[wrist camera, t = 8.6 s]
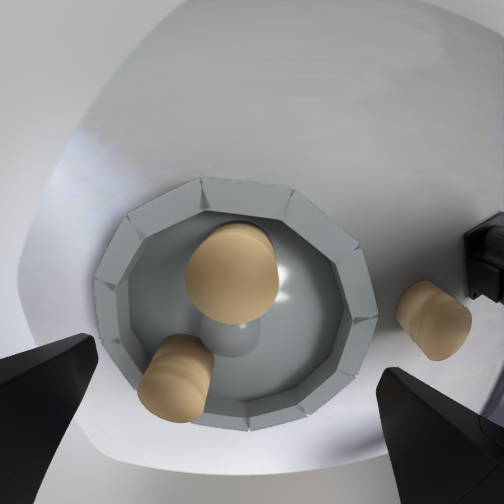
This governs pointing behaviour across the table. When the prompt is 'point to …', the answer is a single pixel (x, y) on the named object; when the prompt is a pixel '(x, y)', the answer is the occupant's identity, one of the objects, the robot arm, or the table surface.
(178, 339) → the tan short rounded cylinder
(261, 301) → the bead
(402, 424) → the robot arm
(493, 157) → the table surface
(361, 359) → the tray
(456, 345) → the bead
